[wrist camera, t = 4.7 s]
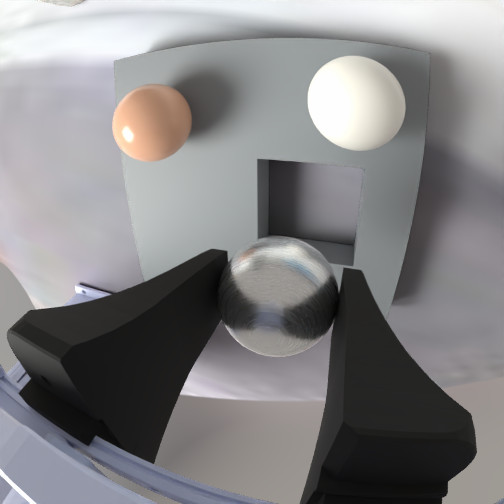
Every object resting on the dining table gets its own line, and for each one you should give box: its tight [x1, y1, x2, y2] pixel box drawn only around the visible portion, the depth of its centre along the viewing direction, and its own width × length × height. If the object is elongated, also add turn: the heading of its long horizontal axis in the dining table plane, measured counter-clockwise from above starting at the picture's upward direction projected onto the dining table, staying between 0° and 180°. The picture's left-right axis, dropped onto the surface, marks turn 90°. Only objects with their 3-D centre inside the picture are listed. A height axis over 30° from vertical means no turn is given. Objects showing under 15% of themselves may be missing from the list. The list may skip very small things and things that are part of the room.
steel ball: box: [217, 236, 339, 357], centre depth 10 cm, size 4×4×4 cm
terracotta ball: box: [112, 84, 192, 162], centre depth 14 cm, size 4×4×4 cm
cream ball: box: [308, 56, 406, 151], centre depth 11 cm, size 4×4×4 cm
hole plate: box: [114, 38, 430, 322], centre depth 18 cm, size 17×16×2 cm
